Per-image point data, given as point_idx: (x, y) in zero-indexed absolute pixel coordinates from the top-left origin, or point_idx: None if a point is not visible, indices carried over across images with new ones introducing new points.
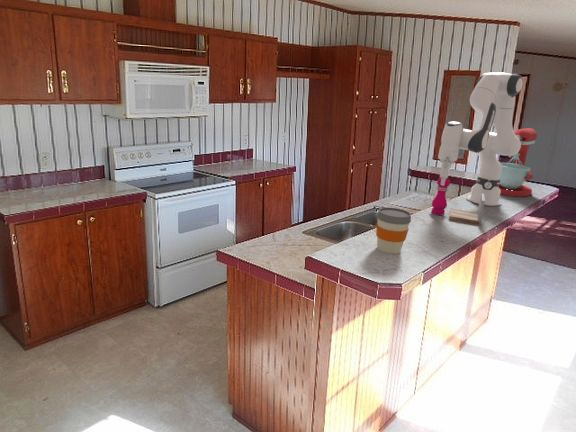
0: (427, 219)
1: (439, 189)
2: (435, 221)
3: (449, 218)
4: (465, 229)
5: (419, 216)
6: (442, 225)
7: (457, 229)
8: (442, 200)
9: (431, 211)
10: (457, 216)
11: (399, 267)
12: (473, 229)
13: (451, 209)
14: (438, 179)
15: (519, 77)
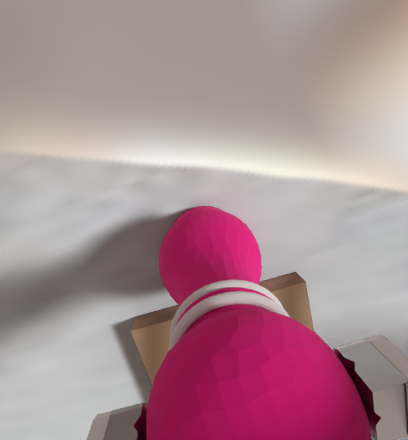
0: (34, 240)
1: (171, 326)
2: (41, 282)
3: (133, 324)
4: (54, 409)
5: (47, 186)
6: (7, 328)
7: (17, 390)
8: (180, 305)
9: (190, 209)
10: (161, 358)
11: None
12: (89, 428)
13: (278, 294)
14: (204, 395)
15: None
